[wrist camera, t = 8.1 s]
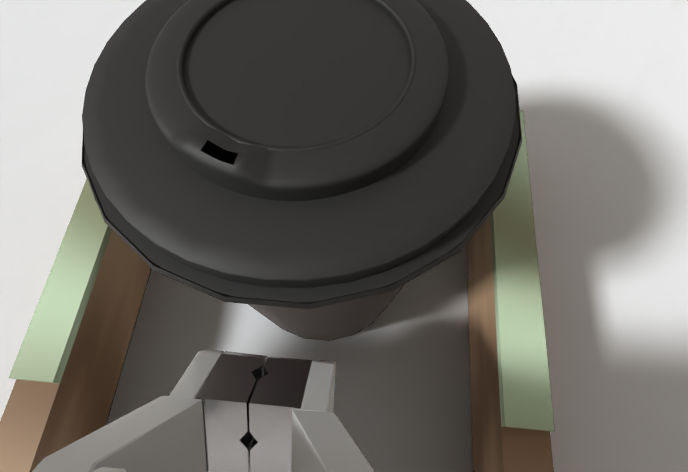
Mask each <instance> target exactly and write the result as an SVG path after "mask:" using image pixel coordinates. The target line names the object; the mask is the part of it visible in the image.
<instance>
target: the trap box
mask: <svg viewBox="0 0 688 472" xmlns="http://www.w3.org/2000/svg"><path fill="white" fill-rule="evenodd" d="M519 111H520V121H521V131H522V144H521V147H520V150H519V154H518V157H517V160H516V163H515V166H514V169H513V172H512V176H511V179H510V182H509V185H508V188H507V191H506V194H505V197H504V199H503V200H502V202H501V203H500V204H499V205H498V206H497V208H496V209H495V210H494V211H493V212H492V214H491V215H490V216H489V217H488V218H487V220H486V221H485V222H484V223H483V224H482V226H481V227H480V228H479V229H478V230H477V232H476V233H475V234H474V235H473V236H472V238H471V239H470V240H469V241H468V242H467V275H468V311H469V348H470V384H471V420H472V457H473V472H553V461H552V451H551V440H550V431H555V429H554V419H553V409H552V399H551V389H550V379H549V369H548V359H547V349H546V339H545V329H544V319H543V309H542V298H541V288H540V278H539V268H538V258H537V248H536V238H535V228H534V218H533V208H532V198H531V188H530V178H529V168H528V158H527V147H526V137H525V127H524V117H523V111H521V110H519ZM150 271H151V267H150V266H149V265H148V264H147V263H146V262H145V261H143V260H142V259H141V258H140V257H139V256H138V255H137V254H136V253H135V252H134V251H133V250H132V249H131V248H130V247H129V246H128V245H127V244H126V243H125V242H124V241H123V240H122V239H121V238H120V237H119V236H118V235H117V234H116V233H115V232H114V231H113V230H112V229H111V228H110V227H109V226H108V225H107V224H106V223H105V222H104V219H103V217H102V214H101V212H100V210H99V207H98V205H97V202H96V201H95V199H94V195H93V192H92V190H91V187H90V185H89V182H88V180H86V182H85V185H84V187H83V190H82V192H81V195H80V197H79V200H78V203H77V205H76V208H75V210H74V213H73V215H72V218H71V220H70V223H69V225H68V228H67V231H66V233H65V236H64V238H63V241H62V243H61V246H60V248H59V251H58V253H57V256H56V259H55V261H54V264H53V266H52V269H51V271H50V274H49V276H48V279H47V282H46V284H45V287H44V289H43V292H42V294H41V297H40V299H39V302H38V304H37V307H36V310H35V312H34V315H33V317H32V320H31V322H30V325H29V327H28V330H27V333H26V335H25V338H24V340H23V343H22V345H21V348H20V350H19V353H18V355H17V358H16V361H15V363H14V366H13V368H12V371H11V373H10V376H9V378H12V379H17V380H16V382H15V385H14V387H13V390H12V393H11V395H10V398H9V400H8V403H7V406H6V408H5V411H4V413H3V416H2V419H1V421H0V472H32V471H33V470H34V469H35V468H36V467H37V465H38V464H39V463H40V462H41V461H42V460H43V459H44V458H45V457H47V456H49V455H51V454H53V453H55V452H56V451H58V450H60V449H62V448H64V447H66V446H68V445H70V444H72V443H73V442H75V441H77V440H79V439H81V438H83V437H85V436H87V435H88V434H90V433H92V432H94V431H96V430H98V429H100V428H102V427H104V426H105V425H106V422H107V418H108V415H109V411H110V408H111V405H112V401H113V398H114V394H115V391H116V387H117V384H118V381H119V377H120V374H121V370H122V367H123V363H124V360H125V357H126V353H127V350H128V346H129V343H130V339H131V336H132V333H133V329H134V326H135V322H136V319H137V315H138V312H139V309H140V305H141V302H142V298H143V295H144V291H145V288H146V285H147V281H148V278H149V274H150Z"/></svg>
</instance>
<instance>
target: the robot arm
mask: <svg viewBox="0 0 688 472" xmlns="http://www.w3.org/2000/svg"><path fill="white" fill-rule="evenodd" d="M335 373H336V363H335V361H326V360H302V359H290V358H278V357H268V356H262V355H253V354H245V353H236V352H227V351H225V352H223V351H217V350H207V349H203V350H200V351H199V352H198V353H197V354H196V356H195V357H194V359H193V360H192V362H191V363H190V365H189V366H188V368H187V369H186V371H185V372H184V374H183V375H182V377H181V378H180V380H179V381H178V383H177V384H176V386H175V387H174V389H173V390H172V392H171V393H170V395H169V396H160V397H158V398H156V399H154V400H153V401H151V402H149V403H147V404H145V405H143V406H141V407H139V408H137V409H136V410H134V411H132V412H130V413H128V414H126V415H124V416H122V417H121V418H119V419H117V420H115V421H113V422H111V423H109V424H107V425H105V426H104V427H102V428H100V429H98V430H96V431H94V432H92V433H90V434H88V435H87V436H85V437H83V438H81V439H79V440H77V441H75V442H73V443H72V444H70V445H68V446H66V447H64V448H62V449H60V450H58V451H56V452H55V453H53V454H51V455H49V456H47V457H45V458H44V459H43V460H42V461H41V462H40V463H39V464H38V465H37V467H36V468H35V469H34V470H33V471H32V472H250V470H251V472H375V471H374V470H373V468H372V467H371V465H370V464H369V462H368V461H367V459H366V458H365V457H364V455H363V454H362V452H361V451H360V449H359V448H358V446H357V445H356V443H355V442H354V440H353V439H352V437H351V436H350V435H349V433H348V432H347V430H346V429H345V427H344V426H343V424H342V423H341V421H340V420H339V418H338V417H337V415H336V414H335V413H334V412H333V407H334V390H335Z"/></svg>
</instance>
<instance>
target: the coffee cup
mask: <svg viewBox="0 0 688 472" xmlns="http://www.w3.org/2000/svg"><path fill="white" fill-rule="evenodd" d="M82 120H83V146H82V167H83V170H84V172H85V175H86V177H87V180H88V182H89V185H90V187H91V190H92V192H93V195H94V199H95V201H96V202H97V205H98V207H99V210H100V212H101V214H102V217H103V219H104V222H105V223H106V224H107V225H108V226H109V227H110V228H111V229H112V230H113V231H114V232H115V233H116V234H117V235H118V236H119V237H120V238H121V239H122V240H123V241H124V242H125V243H126V244H127V245H128V246H129V247H130V248H131V249H132V250H133V251H134V252H135V253H136V254H137V255H138V256H139V257H140V258H141V259H142V260H143V261H145V262H146V263H147V264H148V265H149V266H150V267H151V268H152V269H153V270H154V271H156V272H158V273H161V274H163V275H165V276H167V277H170V278H172V279H174V280H177V281H179V282H181V283H183V284H186V285H188V286H190V287H192V288H195V289H197V290H199V291H202V292H204V293H206V294H208V295H211V296H213V297H215V298H218V299H220V300H222V301H224V302H233V303H244V304H249V305H250V306H251V307H253V308H254V309H255V310H257V311H258V312H260V313H261V314H262V315H264V316H265V317H267V318H268V319H269V320H271V321H272V322H274V323H275V324H276V325H278V326H279V327H280V328H282V329H284V330H286V331H288V332H291V333H293V334H295V335H298V336H300V337H302V338H306V339H317V340H327V341H329V340H333V339H337V338H342V337H346V336H351V335H353V334H355V333H356V332H358V331H360V330H361V329H363V328H365V327H367V326H368V325H370V324H372V323H373V322H374V321H375V319H376V318H377V317H378V316H379V315H380V314H381V313H382V311H383V310H384V309H385V308H386V307H387V306H388V304H389V303H390V302H391V300H392V299H393V298H394V297H395V295H396V294H397V293H398V292H399V290H400V289H401V288H402V286H403V285H404V284H405V283H407V282H409V281H410V280H412V279H414V278H416V277H417V276H419V275H421V274H422V273H424V272H426V271H428V270H429V269H431V268H433V267H434V266H436V265H438V264H439V263H441V262H443V261H445V260H446V259H448V258H450V257H451V256H453V255H455V254H457V253H458V252H460V251H461V250H462V248H463V247H464V246H465V245H466V244H467V242H468V241H469V240H470V239H471V238H472V236H473V235H474V234H475V233H476V232H477V230H478V229H479V228H480V227H481V226H482V224H483V223H484V222H485V221H486V220H487V218H488V217H489V216H490V215H491V214H492V212H493V211H494V210H495V209H496V208H497V206H498V205H499V204H500V203H501V202H502V200H503V199H504V197H505V194H506V191H507V188H508V185H509V182H510V179H511V176H512V172H513V169H514V166H515V163H516V160H517V157H518V154H519V150H520V147H521V144H522V131H521V121H520V111H519V100H518V90H517V84H516V82H515V80H514V78H513V76H512V73H511V68H510V65H509V63H508V61H507V58H506V56H505V53H504V51H503V48H502V46H501V44H500V42H499V41H498V39H497V37H496V36H495V34H494V33H493V31H492V30H491V28H490V27H489V25H488V23H487V22H486V21H485V20H484V19H483V18H482V17H481V16H480V14H479V13H478V12H477V11H476V10H475V9H474V8H473V7H472V6H471V5H470V4H469V3H468V2H467V1H466V0H146V1H145V2H144V3H143V4H141V5H140V6H139V7H138V8H137V9H136V10H135V11H134V12H133V13H132V14H131V15H130V16H129V17H128V18H127V19H126V20H125V21H124V22H123V23H122V24H121V25H120V27H119V28H118V29H117V31H116V32H115V33H114V34H113V36H112V37H111V38H110V39H109V41H108V42H107V44H106V45H105V47H104V49H103V51H102V53H101V54H100V56H99V58H98V60H97V62H96V63H95V65H94V68H93V71H92V74H91V77H90V80H89V82H88V85H87V88H86V93H85V100H84V107H83V114H82Z"/></svg>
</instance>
